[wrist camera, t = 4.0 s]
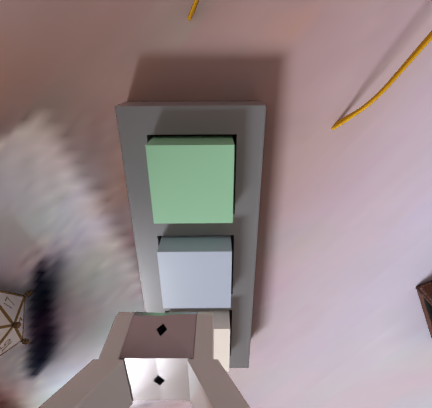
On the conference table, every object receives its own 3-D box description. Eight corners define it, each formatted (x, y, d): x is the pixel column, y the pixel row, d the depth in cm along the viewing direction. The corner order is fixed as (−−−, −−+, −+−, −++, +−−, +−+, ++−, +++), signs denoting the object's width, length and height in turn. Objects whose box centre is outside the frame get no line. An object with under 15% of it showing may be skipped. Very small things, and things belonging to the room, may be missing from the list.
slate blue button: (229, 284, 28) (230, 307, 26) (167, 285, 28) (163, 308, 26) (230, 232, 26) (231, 251, 23) (162, 232, 26) (157, 252, 23)
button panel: (245, 344, 35) (248, 367, 32) (158, 345, 35) (153, 368, 32) (259, 101, 23) (266, 105, 20) (126, 101, 23) (115, 106, 20)
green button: (230, 205, 25) (232, 223, 22) (160, 206, 25) (153, 223, 22) (232, 135, 22) (234, 144, 19) (153, 135, 22) (145, 145, 19)
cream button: (227, 345, 32) (229, 371, 29) (173, 346, 32) (170, 371, 29) (228, 304, 29) (230, 328, 27) (169, 305, 29) (165, 329, 27)
